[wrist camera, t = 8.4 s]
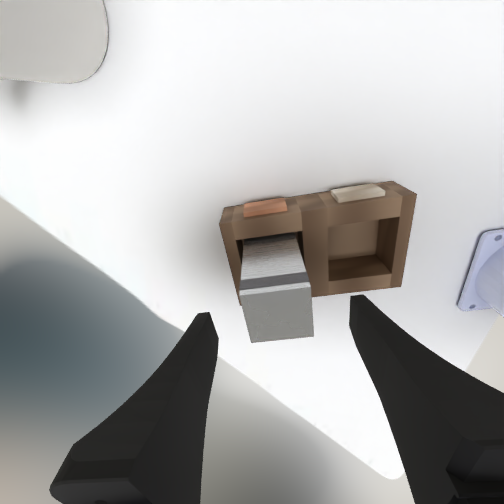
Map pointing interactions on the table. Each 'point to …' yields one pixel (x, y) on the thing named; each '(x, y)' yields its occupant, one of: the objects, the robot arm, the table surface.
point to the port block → (332, 235)
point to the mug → (52, 39)
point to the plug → (275, 289)
